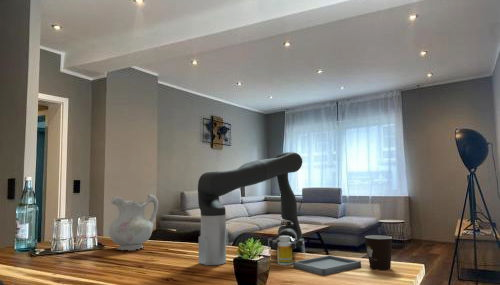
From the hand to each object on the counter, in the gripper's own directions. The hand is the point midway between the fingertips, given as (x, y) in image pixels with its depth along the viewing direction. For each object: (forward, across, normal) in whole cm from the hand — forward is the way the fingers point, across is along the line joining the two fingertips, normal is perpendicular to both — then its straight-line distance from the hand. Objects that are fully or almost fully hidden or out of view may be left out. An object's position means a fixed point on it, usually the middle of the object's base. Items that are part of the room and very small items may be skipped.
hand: (284, 246), depth 126 cm
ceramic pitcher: (-29, -72, +7) cm, 78 cm away
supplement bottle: (-3, 0, +7) cm, 7 cm away
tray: (+1, +14, +6) cm, 16 cm away
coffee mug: (0, +32, +7) cm, 33 cm away
